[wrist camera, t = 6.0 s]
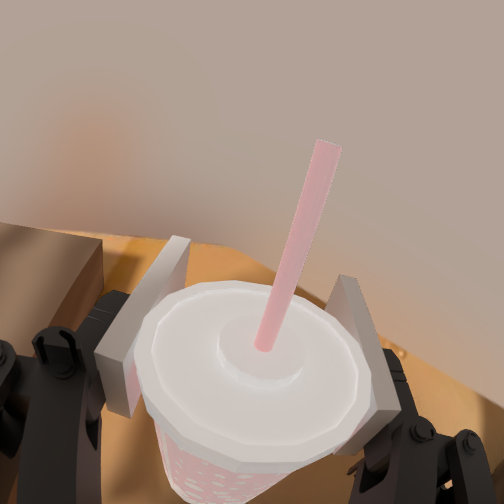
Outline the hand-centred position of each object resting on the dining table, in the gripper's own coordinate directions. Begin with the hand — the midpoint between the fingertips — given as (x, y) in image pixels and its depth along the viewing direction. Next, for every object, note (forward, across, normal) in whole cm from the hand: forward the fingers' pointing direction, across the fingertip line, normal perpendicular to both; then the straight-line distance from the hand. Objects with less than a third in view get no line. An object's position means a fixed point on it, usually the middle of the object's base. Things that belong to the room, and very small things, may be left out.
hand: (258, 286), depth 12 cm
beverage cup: (-5, 0, -8) cm, 9 cm away
